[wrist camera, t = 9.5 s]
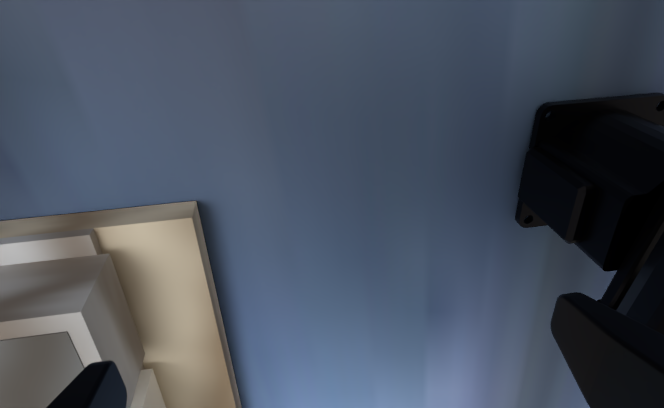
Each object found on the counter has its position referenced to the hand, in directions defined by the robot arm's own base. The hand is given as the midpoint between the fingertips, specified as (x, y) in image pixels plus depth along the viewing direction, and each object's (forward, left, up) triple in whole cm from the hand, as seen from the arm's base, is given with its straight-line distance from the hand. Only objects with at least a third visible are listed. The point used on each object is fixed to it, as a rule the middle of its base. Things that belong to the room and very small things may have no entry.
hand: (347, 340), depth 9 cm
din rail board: (+11, +14, -12) cm, 21 cm away
